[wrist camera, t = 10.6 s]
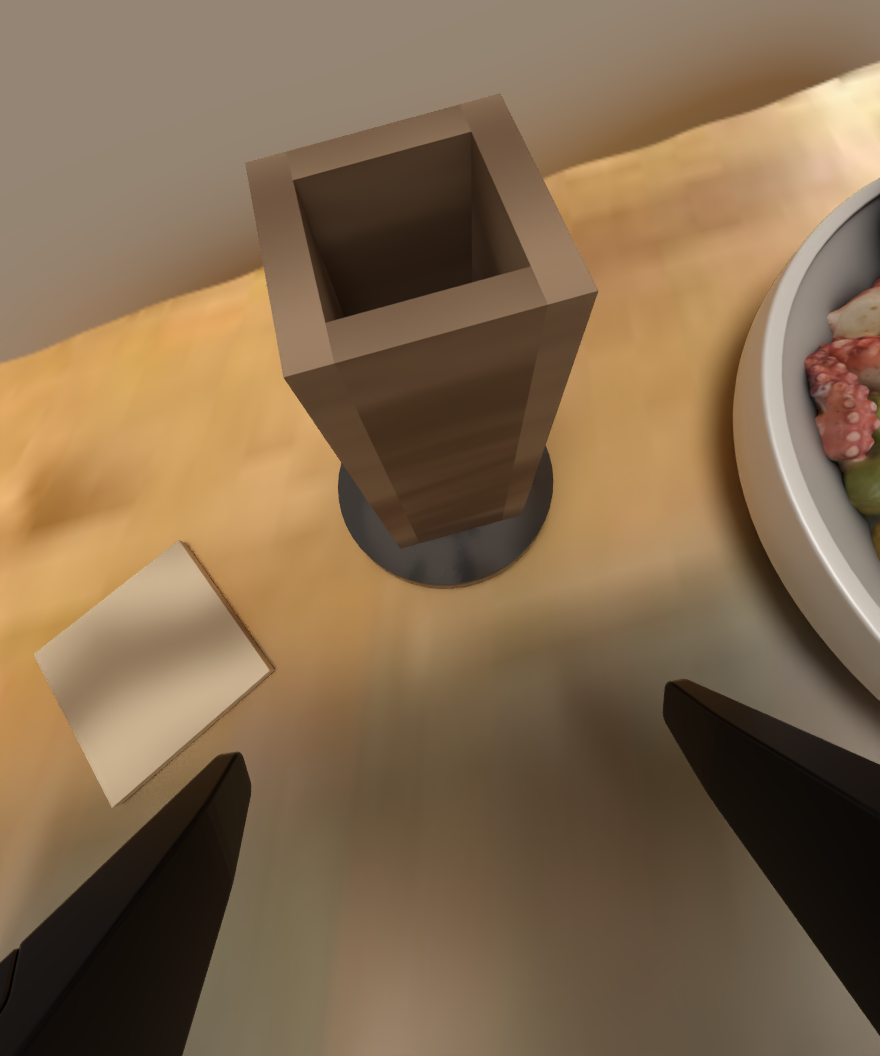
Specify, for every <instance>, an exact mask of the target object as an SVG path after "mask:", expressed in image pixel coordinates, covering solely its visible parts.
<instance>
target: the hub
mask: <svg viewBox="0 0 880 1056" xmlns="http://www.w3.org/2000/svg"><path fill="white" fill-rule="evenodd" d="M552 493H553V472H552V465H551V461H550V456H549V453H548V451H547V448H546V445H545V448H544V451H543V454H542V457H541V459H540V462H539V465H538V468H537V471H536V474H535V477H534V480H533V483H532V486H531V489H530V492H529V494H528V497H527V500H526V503H525V506H524V509H523V512H522V515H520V516H517V517H513V518H509V519H506V520H502V521H499V522H495V523H491V524H488V525H484V526H481V527H477V528H474V529H470V530H466V531H463V532H459V533H456V534H452V535H448V536H445V537H441V538H438V539H434V540H430V541H427V542H423V543H420V544H416V545H412V546H409V547H405V548H402V549H400V548H399V546H398V545H397V543H396V542H395V540H394V539H393V538H392V536H391V535H390V533H389V532H388V530H387V529H386V527H385V526H384V524H383V523H382V521H381V520H380V518H379V517H378V515H377V514H376V513H375V511H374V510H373V508H372V507H371V505H370V504H369V502H368V501H367V499H366V498H365V496H364V495H363V493H362V492H361V490H360V489H359V488H358V486H357V485H356V483H355V482H354V480H353V479H352V477H351V476H350V474H349V473H348V471H347V470H346V468H345V467H344V466H343V464H342V463H341V468H340V472H339V481H338V494H339V503H340V508H341V512H342V515H343V518H344V521H345V523H346V526H347V528H348V530H349V531H350V533H351V535H352V537H353V538H354V540H355V541H356V542H357V544H358V545H359V547H360V548H361V549H362V550H363V551H364V552H365V553H366V554H367V555H368V556H369V557H370V558H371V559H372V560H373V561H374V562H375V563H376V564H378V565H379V566H380V567H381V568H383V569H384V570H385V571H387V572H388V573H390V574H392V575H394V576H395V577H397V578H399V579H402V580H404V581H407V582H409V583H412V584H416V585H420V586H424V587H431V588H458V587H465V586H470V585H473V584H477V583H480V582H483V581H485V580H487V579H490V578H492V577H494V576H496V575H498V574H499V573H501V572H503V571H504V570H506V569H507V568H509V567H510V566H511V565H512V564H514V563H515V562H516V561H517V560H518V559H519V558H520V557H521V556H522V555H523V554H524V553H525V552H526V551H527V550H528V548H529V547H530V545H531V544H532V543H533V541H534V540H535V538H536V536H537V534H538V532H539V531H540V529H541V527H542V525H543V523H544V521H545V519H546V516H547V513H548V510H549V508H550V503H551V498H552Z"/></svg>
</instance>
